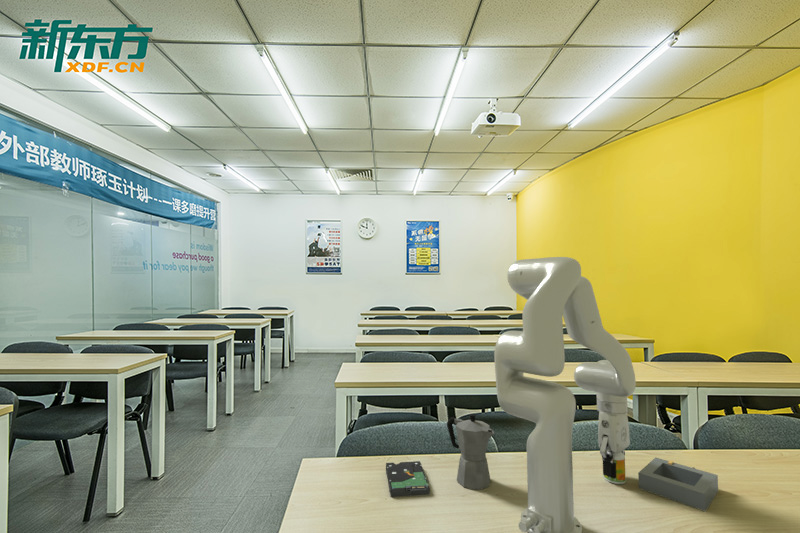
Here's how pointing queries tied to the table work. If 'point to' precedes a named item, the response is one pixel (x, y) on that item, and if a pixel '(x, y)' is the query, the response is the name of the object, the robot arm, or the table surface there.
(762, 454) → the table surface
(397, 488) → the disk drive
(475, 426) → the coffeepot
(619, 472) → the supplement bottle
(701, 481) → the gray rectangular open box
